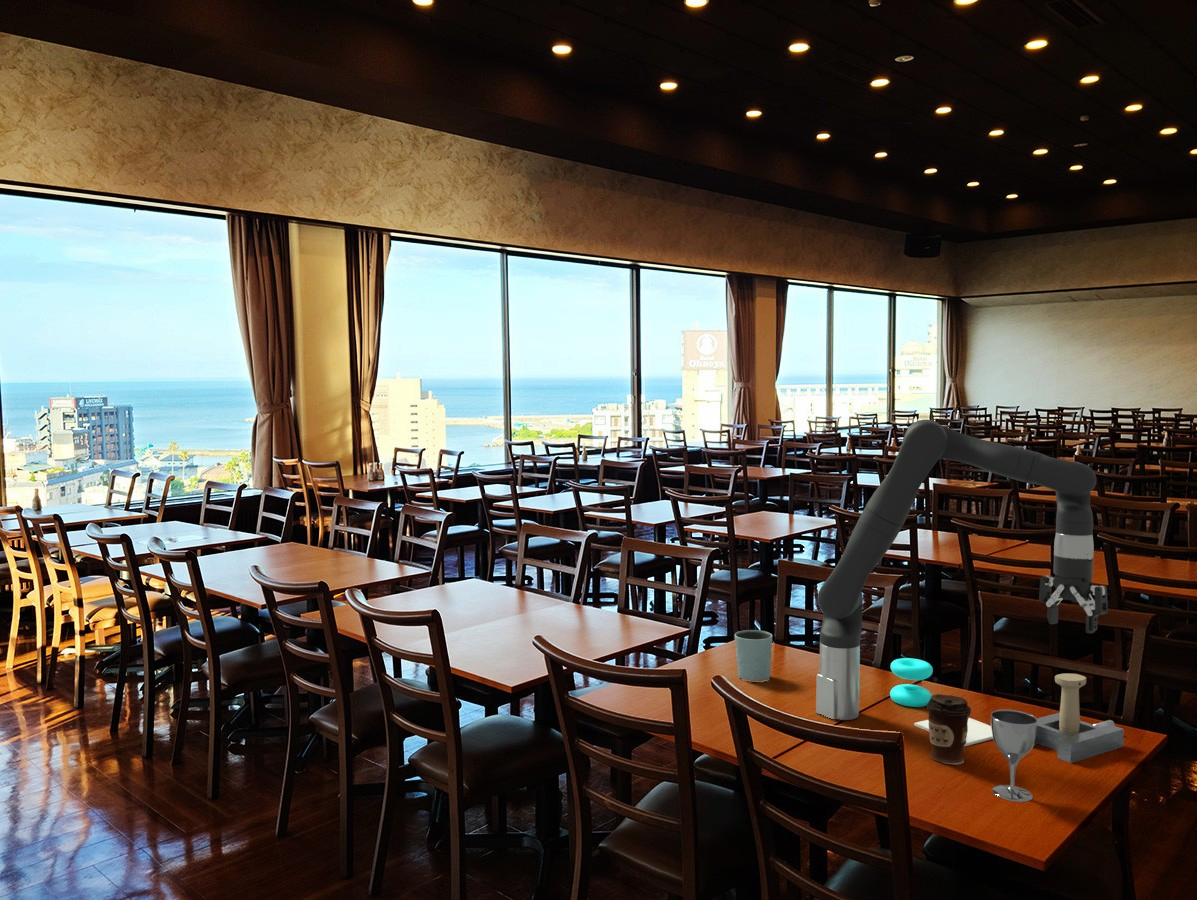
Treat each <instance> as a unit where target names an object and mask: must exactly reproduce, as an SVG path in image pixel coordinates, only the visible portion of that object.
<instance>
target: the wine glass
mask: <svg viewBox="0 0 1197 900" xmlns="http://www.w3.org/2000/svg"><path fill="white" fill-rule="evenodd" d="M990 726H991V729H992V735H993V739H992V740H993V741H994V745H996V746H995V747H996V748H998V750H999V751H1000V752H1001V754H1002V755H1003V756H1004V757H1005V759H1006V761H1007V763H1008V766H1009V769H1008V770H1009V776H1010V777H1009V784H999V785H995V786H993V787H992V789H991V792H992V791H993V792H992V793H993V794H994V795H995V796H996V795H997V796H996V797H998V796H999V797H998V798H1000V799H1003V800H1006V801H1009V802H1010V801H1011V802H1019V803H1023V802H1025V803H1026V802H1030V801H1031V800H1033V794H1032V793H1031V792H1030V791H1029V790H1027V789H1025V788H1023V787H1019V786H1016V785H1015V784H1016V783H1015V779H1016V772H1017V771H1016V770H1017V766H1018V764H1019V762H1020V761H1021V760H1022V759H1023V758H1024V757H1025V756H1026V755H1028V754H1029V753H1030V752H1031V751H1032V750H1033V747H1034V746H1035V745H1034V742H1035V738H1036V732H1037V717H1036V716H1034V715H1033V714H1031V713H1028V712H1024V711H1023V710H1022V711H1020V710H1015V709H1003V708H1002V709H996V710H993V711H992V712H991V713H990Z"/></svg>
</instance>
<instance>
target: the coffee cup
mask: <svg viewBox="0 0 1197 900" xmlns="http://www.w3.org/2000/svg"><path fill="white" fill-rule="evenodd" d="M926 708H927V711H928V719H927V720H928V721H929V731H928V732H929V735H928V736H929V741H930V745H931V746H932V751H931V752H930V756H931V758H932V759H933V760H935V761H937V762H939V763H942V764H948V765H954V766H955V765H956V766H957V765H961V764H963V763H964V762H965V761H964V757H963V754H964V749H965V746H964V745H965V744H966V737H967V732H968V726H967V723H968V718H970V716H971V713H972V709H971V707H970V706H969V705H968V701H967V699H966V698H963V697H960V696H955V695H953V694H950V695H948V694H938V693H937V694H933V695H932V696H931V699H930V701H929V702H928V703H927V706H926Z"/></svg>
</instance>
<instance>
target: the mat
mask: <svg viewBox="0 0 1197 900" xmlns="http://www.w3.org/2000/svg"><path fill="white" fill-rule="evenodd" d="M913 725H914V726H915V727H917V728H919V729H922V730H924V731H927V732H929V721H928V719H926V720H920V721H917V722H914V723H913ZM967 726H968V732H967V737H966V744H965V745H964V747H968V746H972V745H974V744H975V745H976V744H980V743H983V742H986V741H990V740H993V735H992V729H991V724H990V725H989V724H987V723H984V722H981V721H978V720H976V719H974V718H971V717H969V718H968V723H967Z"/></svg>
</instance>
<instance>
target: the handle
mask: <svg viewBox="0 0 1197 900" xmlns="http://www.w3.org/2000/svg"><path fill="white" fill-rule="evenodd" d="M1054 681H1055V683H1056V684H1057V685H1058V686H1060V687H1061V694H1060V695H1061V696H1060V706H1059V713H1060V715H1059V728H1060V731H1062V732H1065V733H1068V734H1071V735H1075V734H1079V726H1080V721H1081V719H1080V718H1081V714H1080V692H1079V691H1080V689H1081V688H1082V687H1083V686H1085V685H1086V684H1087V677H1086V676H1084V675H1081V674H1078V673H1060V674H1056V675H1055V676H1054Z"/></svg>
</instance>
